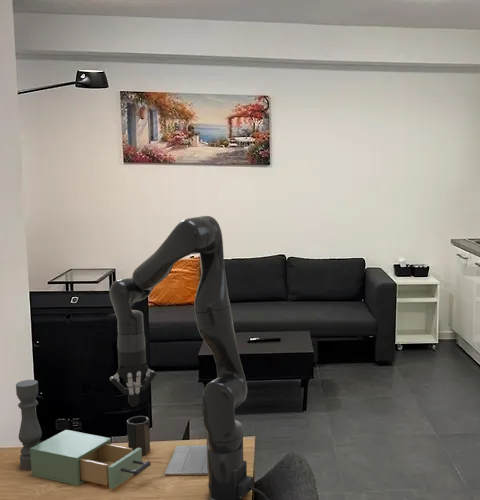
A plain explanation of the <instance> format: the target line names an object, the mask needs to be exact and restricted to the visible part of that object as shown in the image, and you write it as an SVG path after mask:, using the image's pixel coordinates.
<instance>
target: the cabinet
mask: <svg viewBox="0 0 480 500" xmlns="http://www.w3.org/2000/svg"><path fill="white" fill-rule="evenodd" d="M106 443H107V444H112V438H111V437H108V436H107V437H106V436H101V435H96V434H92V433H85V432H80V431H76V430H70V429H64V430H63V431H61V432H59V433H57V434H55V435H53V436H51V437H49V438H47V439H45V440H43V441H42V442H39V443H38V445H36V446H34V447H32V448H30V455H31V470H30V471H31V476H32V477H38V478H42V479H47V480H51V481H55V482H59V483H64V484H68V485H71V486H72V485H73V486H77V487H79V486H81V485H82V484H84V483H85V482H87V481H86V480H81V479H80V467H79V459H81V458H83V457H85V456H86V455H88V454H90V453H91V452H93V451H95V450H96V449H98V448H100V447H101V446H103V445H105V444H106Z"/></svg>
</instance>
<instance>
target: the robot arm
mask: <svg viewBox="0 0 480 500" xmlns="http://www.w3.org/2000/svg"><path fill="white" fill-rule="evenodd" d="M223 241H224V239H223V232H222V228H221V226H220V223H219V222H218V221H217V219H216V218H214V217H213V216H210V215H200V216H194V217H190V218H185V219H183V220H181V221H179V223H178V224H176V225H175V226H174V228H173V230H172V231H171V232H170V233H169V235H168V236H166V238H165V240H164V241H163V242H162V244H161V245H160V246H159V247H158V248H157V249H156V250H155V251H154V252H153V253H152V254H151V255H150V256H149V257H148V258H146V259H145V260H144V261H143V262H141V264H139V265H138V266H137V267H136V268H135V269H134V270H133V272H132V274H131V275H132V276H131V277H127V278H121V279H117V280H114V281H113V282H112V283H111V285H110V288H109V298H110V302H111V304H112V307H113V310H114V313H115V316H116V319H117V341H116V342H117V343H116V347H117V363H118V367H117V369H116V373H115V374H114V375H111V376H109V381H110V382H111V384H113V386H115V387H116V388H117V389H118V390H119V391H120V392H121V393H122V394H124V395H127V399H128V400H127V402H128V404H129V406H131V408H134V407H135V408H136V407H138V405H139V404H140V402H141V401H140V394H141V392H145V391H146V390H147V389H148V387H149V385H150V384H151V383H152V381H153V380H154V378H155V377H156V375H157V373H156V372H155V370H153V369H150V368H149V366H148V364H147V348H146V347H147V345H146V344H147V343H146V336H145V335H146V334H145V322H144V313H143V312H142V311H141V310H138V309H137V310H136V309H132V306H131V304H133V303H137V302H140V301H143V300H145V299H146V298H147V297H149V296H150V294H151V293H152V292H153V290H154V289H155V287H156V286H157V285H159V284H160V283H161V282H162V281H164V280H165V279H166V278H167V277H168V276H169V275H170V273H171V272H172V270H173V268H174V265H175V264H176V263H177V262H179V261H181V260H182V259H184V258H186V257H188V256H190V255H198V254H199V259H200V268H201V270H200V271H201V272H200V278H199V282H198V285H197V288H196V293H195V296H194V302H193V311H194V316H195V321H196V327H197V330H198V332H199V334H200V337H201V338H202V340H203V341H204V342H205V344H206V346H207V347H208V348H209V350H210V351H211V353H212V355H213V358H214V362H215V368H216V377H217V378H215V379H213V380H211V381H209V382H208V383H207V384H206V385H205V387H204V388H203V392H202V413H203V414H202V415H203V425H204V428H205V430H206V435H207V434H208V474H207V477H208V479H207V481H208V483H207V487H208V500H243V498H245V497H246V496H247V495H248V494H249V493H250V492H251V491H253V492H255V493H257V494H258V495H260V496H261V497H262V498H263V499H264V500H270V498H269V497H267V496H266V494H265V493H264V492H263V491H261V490H260V489H258V488H256V487H254V486H255V485H254V484H255V483H254V480H255V479H254V476H251V475H248V473H247V472H248V471H247V467H248V466H247V463H248V462H247V460H244V426H243V424H242V422H240V420H237V419H236V418H235V417H236V416H235V415H236V414H235V409H236V408H238V407H239V406H241V405H242V404H243V403H244V402H245V401H246V399H247V397H248V383H247V380H246V375H245V372H244V369H243V364H242V361H241V358H240V353H239V349H238V343H237V337H236V333H235V327H234V319H233V317H234V316H233V313H232V306H231V302H230V297H229V290H228V284H227V277H226V270H225V269H226V268H225V256H224V242H223ZM144 377H145V378H144ZM121 379H122V380H123V381H124V383H126V387H125V386H124V385H123V384H122V383H121V382H120V380H121ZM141 381H142V382H141Z"/></svg>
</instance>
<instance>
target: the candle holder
mask: <svg viewBox="0 0 480 500" xmlns="http://www.w3.org/2000/svg"><path fill="white" fill-rule="evenodd" d="M15 393H16V397H17V399H18V400H19V403H18V404H17V407H18V408H19V410H20V413H21V420H20V427H19V432H18V440H19V442H20V443H21V445H22V447H21V449H20V455H19V465H20V469H21V470H22V471H23V470H24V471H32V470H31V455H30V448H32V447H34V446H36V445H38V444H39V443H40V440H41V438H42V435H43V431H42V428H41V425H40V422H39V420H38V416H37V406H38V405H39V401H38V400H37V397H38V394H39V382H38V380H36V379H25V380H20V381H18V382H16V383H15Z"/></svg>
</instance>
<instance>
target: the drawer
mask: <svg viewBox="0 0 480 500" xmlns="http://www.w3.org/2000/svg"><path fill="white" fill-rule="evenodd" d="M151 465H152V463H151V462H150V461H149V460H147V461H146V462H145V461H143V456H142V451H141V448H137V449H135V450H133V449H132V448H128V446H127V447H126V446H122V445H117V444H112V443H111V444H107V443H106V444H105V445H103V446H101V447H100V448H98V449H96V450H95V451H93V452H91V453H90V454H88V455H86V456H85V457H83V458H81V459H79V467H80V479H81V480H86V481H85V482H90V483H96V484H100V485H104V486H109V487H108V488H109V489H110V490H114V489H115V488H117V487H119V486H120V485H121V484H123V483H124V482H126V481H127V480H129V479H130V478H131V477H133V476H135V477H137V476H138V475H140V473H142V472H143V471H145V470H146V469H148V468H149V467H150V466H151Z"/></svg>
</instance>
